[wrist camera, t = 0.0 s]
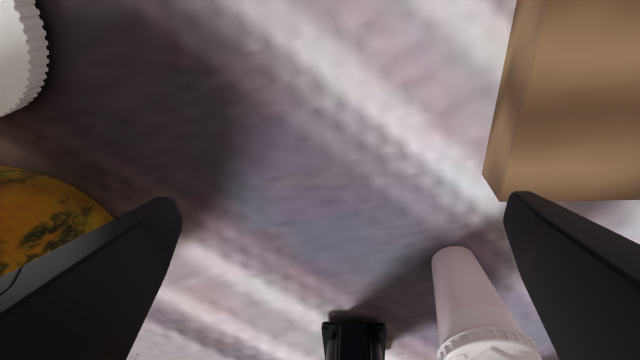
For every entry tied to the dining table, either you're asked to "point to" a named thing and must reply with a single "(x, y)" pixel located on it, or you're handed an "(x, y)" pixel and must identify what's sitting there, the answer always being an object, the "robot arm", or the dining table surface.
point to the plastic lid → (21, 54)
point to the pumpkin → (41, 216)
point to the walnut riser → (569, 103)
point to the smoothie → (473, 312)
